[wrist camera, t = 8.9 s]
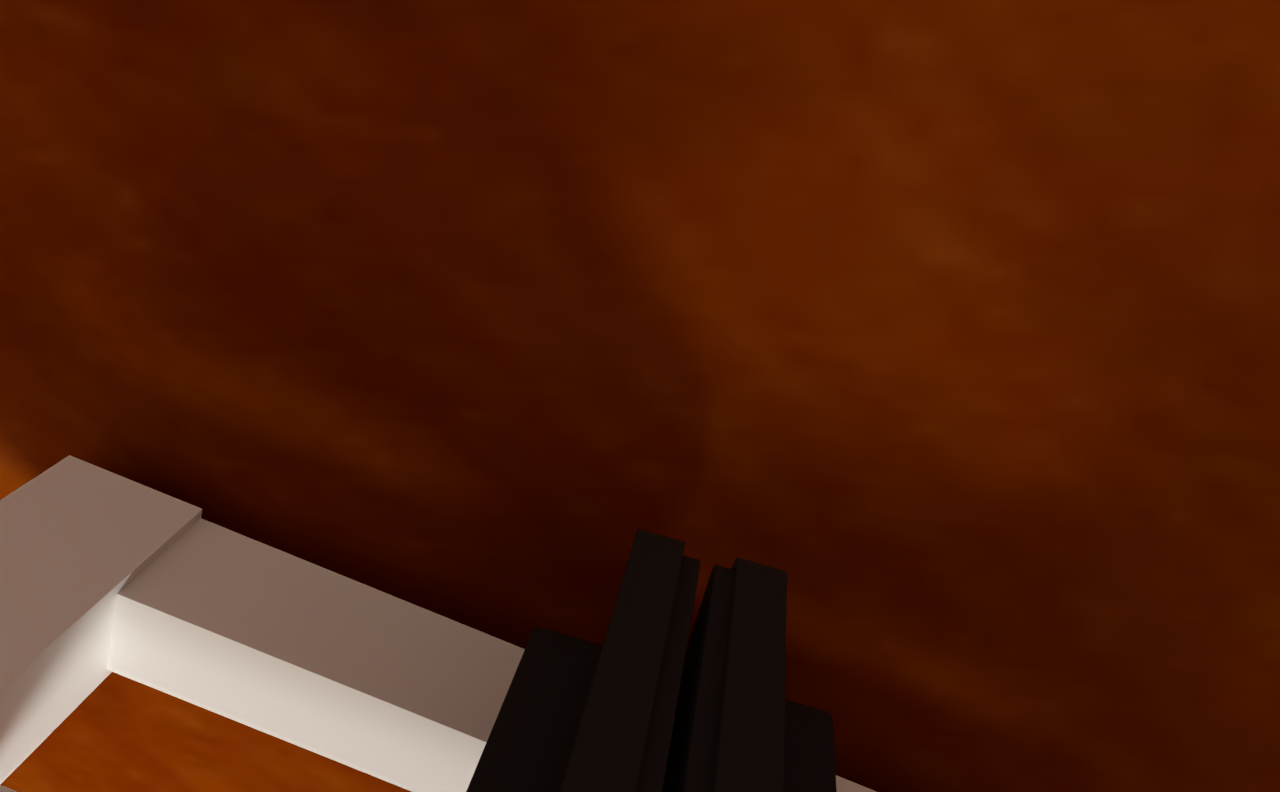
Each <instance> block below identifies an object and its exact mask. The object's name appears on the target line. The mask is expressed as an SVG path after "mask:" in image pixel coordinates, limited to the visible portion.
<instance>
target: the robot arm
mask: <svg viewBox="0 0 1280 792" xmlns="http://www.w3.org/2000/svg"><path fill="white" fill-rule="evenodd" d="M684 546H685V542H682V541H679V540H675V539H672V538H668V537H665V536H662V535H658V534H655V533H651V532H648V531H644V530H641V529H638V530H637V533H636V536H635V540H634V543H633V546H632V550H631V553H630V557H629V560H628V563H627V567H626V570H625V574H624V577H623V580H622V584H621V587H620V591H619V594H618V597H617V601H616V604H615V608H614V611H613V614H612V618H611V621H610V625H609V628H608V631H607V635H606V638H605V642H604V645H603V646H602V645H599V644H595V643H592V642H588V641H585V640H582V639H578V638H575V637H571V636H568V635H565V634H561V633H558V632H555V631H551V630H548V629H544V628H541V627H538V626H536V627H535V628H534V630H533V632H532V634H531V636H530V638H529V641H528V643H527V645H526V648H525V650H524V653H523V655H522V658H521V660H520V662H519V665H518V667H517V670H516V672H515V675H514V677H513V679H512V682H511V684H510V687H509V689H508V692H507V694H506V696H505V699H504V701H503V704H502V706H501V709H500V711H499V713H498V716H497V718H496V721H495V723H494V726H493V728H492V730H491V733H490V735H489V738H488V740H487V743H486V745H485V747H484V750H483V752H482V755H481V757H480V760H479V762H478V764H477V767H476V769H475V772H474V774H473V777H472V779H471V781H470V784H469V786H468V789H467V791H466V792H837V790H836V771H835V751H834V731H833V723H832V718H831V716H830V714H829V712H826V711H823V710H820V709H816V708H813V707H809V706H806V705H803V704H799V703H796V702H792V701H789V700H786V699H785V664H786V600H787V574H786V572H785V571H783V570H780V569H776V568H773V567H769V566H766V565H762V564H759V563H755V562H752V561H748V560H745V559H741V558H738V557H737V558H736V560H735V562H734V564H733V566H732V569H728V568H725V567H721V566H718V565H715V566H714V568H713V570H712V573H711V575H710V578H709V581H708V585H707V588H706V591H705V594H704V597H703V600H702V603H701V606H700V609H699V612H698V615H697V618H696V621H695V624H694V627H693V630H692V633H691V636H690V639H689V642H688V645H687V640H688V634H689V628H690V622H691V616H692V610H693V604H694V598H695V592H696V586H697V580H698V574H699V568H700V560H697V559H693V558H690V557H686V556H683V551H684ZM686 646H687V649H686Z"/></svg>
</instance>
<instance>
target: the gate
mask: <svg viewBox="0 0 1280 792" xmlns="http://www.w3.org/2000/svg"><path fill="white" fill-rule="evenodd" d="M202 510H203V509H201V508H199V507H197V506H194V505H192V504H189V503H187V502H184V501H182V500H179V499H177V498H174V497H172V496H169V495H167V494H164V493H162V492H159V491H157V490H155V489H152V488H150V487H147V486H145V485H142V484H140V483H137V482H135V481H132V480H130V479H127V478H125V477H122V476H120V475H117V474H115V473H113V472H110V471H108V470H105V469H103V468H100V467H98V466H95V465H93V464H90V463H88V462H85V461H83V460H80V459H78V458H75V457H73V456H71V455H69V456H67V457H66V458H64V459H63V460H61V461H60V462H58V463H57V464H55V465H53V466H52V467H50V468H49V469H47V470H46V471H44V472H43V473H41V474H40V475H38V476H37V477H35V478H34V479H32V480H30V481H29V482H27V483H26V484H24V485H23V486H21V487H20V488H18V489H17V490H15V491H14V492H12V493H10V494H9V495H7V496H6V497H4V498H3V499H1V500H0V784H1V783H2V782H3V781H4V780H5V779H6V778H7V777H8V776H9V775H10V774H11V773H12V772H13V771H14V770H15V769H16V768H17V767H18V766H19V765H20V764H21V763H22V762H23V761H24V760H25V759H26V758H27V757H28V756H29V755H30V754H31V753H32V752H33V751H34V750H35V749H36V748H37V747H38V746H39V745H40V744H41V743H42V742H43V741H44V740H45V739H46V738H47V737H48V736H49V735H50V734H51V733H52V732H53V731H54V730H55V729H56V728H57V727H58V726H59V725H60V724H61V723H62V722H63V721H64V720H65V719H66V718H67V717H68V716H69V715H70V714H71V713H72V712H73V711H74V710H75V709H76V708H77V707H78V706H79V705H80V704H81V703H82V701H83V700H84V699H85V698H86V697H87V696H88V695H89V694H90V693H91V692H92V691H93V690H94V689H95V688H96V687H97V686H98V685H99V684H100V683H101V682H102V681H103V680H104V679H105V678H106V677H107V676H108V675H109V674H110V673H111V672H115V673H117V674H120V675H122V676H125V677H127V678H130V679H132V680H135V681H137V682H140V683H142V684H145V685H147V686H150V687H152V688H155V689H157V690H160V691H162V692H165V693H167V694H170V695H172V696H174V697H177V698H179V699H182V700H184V701H187V702H189V703H192V704H194V705H197V706H199V707H202V708H204V709H207V710H209V711H212V712H214V713H217V714H219V715H222V716H224V717H227V718H229V719H232V720H234V721H237V722H239V723H242V724H244V725H247V726H249V727H252V728H254V729H257V730H259V731H262V732H264V733H267V734H269V735H272V736H274V737H277V738H279V739H282V740H284V741H287V742H289V743H292V744H294V745H297V746H299V747H302V748H304V749H307V750H309V751H312V752H314V753H317V754H319V755H322V756H324V757H327V758H329V759H332V760H334V761H337V762H339V763H342V764H344V765H347V766H349V767H352V768H354V769H357V770H359V771H362V772H364V773H367V774H369V775H372V776H374V777H377V778H379V779H382V780H384V781H387V782H389V783H392V784H394V785H397V786H399V787H402V788H404V789H407V790H409V791H412V792H466V791H467V789H468V786H469V784H470V781H471V779H472V777H473V774H474V772H475V769H476V767H477V764H478V762H479V760H480V757H481V755H482V752H483V750H484V747H485V745H486V743H487V740H488V738H489V735H490V733H491V730H492V728H493V726H494V723H495V721H496V718H497V716H498V713H499V711H500V709H501V706H502V704H503V701H504V699H505V696H506V694H507V692H508V689H509V687H510V684H511V682H512V679H513V677H514V675H515V672H516V670H517V667H518V665H519V662H520V660H521V658H522V655H523V653H524V650H525V649H523V648H521V647H518V646H516V645H513V644H511V643H508V642H506V641H503V640H501V639H498V638H496V637H493V636H491V635H489V634H486V633H484V632H481V631H479V630H476V629H474V628H471V627H469V626H466V625H464V624H461V623H459V622H456V621H454V620H451V619H449V618H447V617H444V616H442V615H439V614H437V613H434V612H432V611H429V610H427V609H424V608H422V607H419V606H417V605H414V604H412V603H409V602H407V601H405V600H402V599H400V598H397V597H395V596H392V595H390V594H387V593H385V592H382V591H380V590H377V589H375V588H372V587H370V586H367V585H365V584H362V583H360V582H358V581H355V580H353V579H350V578H348V577H345V576H343V575H340V574H338V573H335V572H333V571H330V570H328V569H325V568H323V567H320V566H318V565H316V564H313V563H311V562H308V561H306V560H303V559H301V558H298V557H296V556H293V555H291V554H288V553H286V552H283V551H281V550H278V549H276V548H274V547H271V546H269V545H266V544H264V543H261V542H259V541H256V540H254V539H251V538H249V537H246V536H244V535H241V534H239V533H236V532H234V531H231V530H229V529H227V528H224V527H222V526H219V525H217V524H214V523H212V522H209V521H207V520H204V519H202V518H201V515H202ZM836 790H837V792H877V791H874V790H872V789H869V788H867V787H864V786H862V785H859V784H857V783H854V782H852V781H849V780H847V779H844V778H842V777H840V776H837V775H836ZM0 792H17V791H15V790H12V789H10V788H7V787H5V786H2V785H0Z"/></svg>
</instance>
